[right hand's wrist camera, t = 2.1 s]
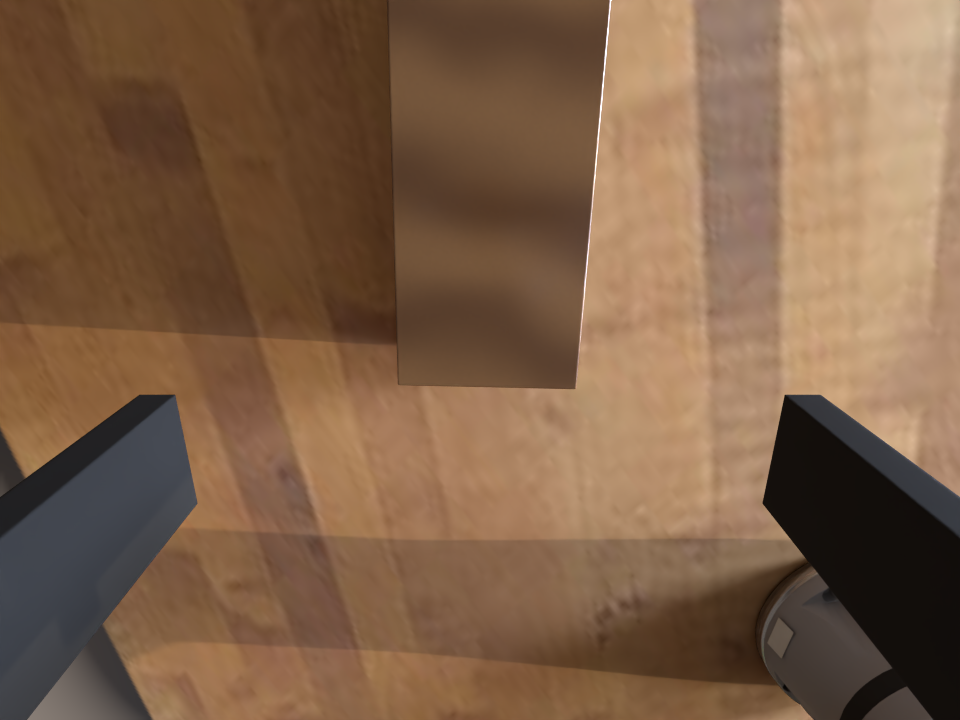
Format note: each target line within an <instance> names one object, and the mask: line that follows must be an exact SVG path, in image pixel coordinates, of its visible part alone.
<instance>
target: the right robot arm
mask: <svg viewBox="0 0 960 720" xmlns="http://www.w3.org/2000/svg"><path fill="white" fill-rule="evenodd" d="M196 505H197V499H196V494H195V489H194V484H193V479H192V474H191V470H190V465H189V460H188V455H187V450H186V445H185V440H184V435H183V431H182V426H181V421H180V416H179V411H178V406H177V401H176V397H175V395H139V396H137V397H136V398H135V399H133V400H132V401H131V402H129V403H128V404H126V405H125V406H124V407H122V408H121V409H120V410H118V411H117V412H116V413H114V414H113V415H111V416H110V417H109V418H107V419H106V420H105V421H103V422H102V423H101V424H99V425H98V426H96V427H95V428H94V429H92V430H91V431H90V432H88V433H87V434H86V435H84V436H83V437H81V438H80V439H79V440H77V441H76V442H75V443H73V444H72V445H71V446H69V447H68V448H66V449H65V450H64V451H62V452H61V453H60V454H58V455H57V456H56V457H54V458H53V459H51V460H50V461H49V462H47V463H46V464H45V465H43V466H42V467H41V468H39V469H38V470H36V471H35V472H34V473H32V474H31V475H30V476H28V477H27V478H26V479H24V480H23V481H22V482H20V483H19V484H17V485H16V486H15V487H13V488H12V489H11V490H9V491H8V492H7V493H5V494H4V495H2V496H1V497H0V720H27V719H28V718H29V716H30V715H31V714H32V713H33V711H34V710H35V709H36V708H37V706H38V705H39V704H40V702H41V701H42V700H43V699H44V697H45V696H46V695H47V694H48V692H49V691H50V690H51V689H52V687H53V686H54V685H55V683H56V682H57V681H58V680H59V678H60V677H61V676H62V675H63V673H64V672H65V671H66V669H67V668H68V667H69V666H70V664H71V663H72V662H73V661H74V659H75V658H76V657H77V655H78V654H79V653H80V652H81V650H82V649H83V648H84V647H85V645H86V644H87V643H88V642H89V640H90V639H91V638H92V637H93V635H94V634H95V633H96V631H97V630H98V629H99V628H100V626H101V625H102V624H103V623H104V621H105V620H106V619H107V617H108V616H109V615H110V614H111V612H112V611H113V610H114V609H115V607H116V606H117V605H118V604H119V602H120V601H121V600H122V598H123V597H124V596H125V595H126V593H127V592H128V591H129V590H130V588H131V587H132V586H133V585H134V583H135V582H136V581H137V579H138V578H139V577H140V576H141V574H142V573H143V572H144V571H145V569H146V568H147V567H148V565H149V564H150V563H151V562H152V560H153V559H154V558H155V557H156V555H157V554H158V553H159V552H160V550H161V549H162V548H163V546H164V545H165V544H166V543H167V541H168V540H169V539H170V538H171V536H172V535H173V534H174V533H175V531H176V530H177V529H178V527H179V526H180V525H181V524H182V522H183V521H184V520H185V519H186V517H187V516H188V515H189V513H190V512H191V511H192V510H193V508H194V507H195V506H196ZM763 505H764V506H765V507H766V508H767V510H768V511H769V512H770V513H771V515H772V516H773V517H774V519H775V520H776V521H777V522H778V524H779V525H780V526H781V527H782V529H783V530H784V531H785V533H786V534H787V535H788V536H789V538H790V539H791V540H792V541H793V543H794V544H795V545H796V546H797V548H798V549H799V550H800V552H801V553H802V554H803V555H804V557H805V558H806V559H807V560H808V562H809V563H807V564H806V565H804V566H802V567H801V568H799V569H798V570H796V571H795V572H793V573H792V574H791V575H789V576H788V577H787V578H786V579H784V580H783V581H782V582H781V583H780V584H779V585H778V586H777V587H776V589H775V590H774V591H773V592H772V593H771V595H770V596H769V597H768V599H767V600H766V602H765V604H764V605H763V607H762V610H761V612H760V614H759V617H758V620H757V625H756V644H757V649H758V651H759V654H760V656H761V658H762V660H763V662H764V664H765V666H766V667H767V669H768V671H769V673H770V674H771V676H772V677H773V679H774V680H775V681H776V682H777V684H778V685H779V686H780V688H781V689H782V690H783V691H784V692H785V693H786V694H787V695H788V696H789V697H791V698H792V699H793V700H794V701H796V702H797V703H799V704H800V705H801V706H802V707H803V708H804V709H805V711H806V712H807V713H808V714H809V715H810V716H811V717H812V718H813V719H814V720H960V497H959V496H958V495H956V494H955V493H953V492H952V491H951V490H949V489H948V488H947V487H945V486H944V485H943V484H941V483H940V482H938V481H937V480H936V479H934V478H933V477H932V476H930V475H929V474H928V473H926V472H925V471H924V470H922V469H921V468H919V467H918V466H917V465H915V464H914V463H913V462H911V461H910V460H909V459H907V458H906V457H904V456H903V455H902V454H900V453H899V452H898V451H896V450H895V449H894V448H892V447H891V446H889V445H888V444H887V443H885V442H884V441H883V440H881V439H880V438H879V437H877V436H876V435H874V434H873V433H872V432H870V431H869V430H868V429H866V428H865V427H864V426H862V425H861V424H859V423H858V422H857V421H855V420H854V419H853V418H851V417H850V416H849V415H847V414H846V413H844V412H843V411H842V410H840V409H839V408H838V407H836V406H835V405H834V404H832V403H831V402H829V401H828V400H827V399H825V398H824V397H823V396H821V395H785V397H784V401H783V406H782V411H781V416H780V421H779V426H778V431H777V435H776V440H775V445H774V450H773V455H772V460H771V465H770V470H769V474H768V479H767V484H766V489H765V494H764V499H763Z"/></svg>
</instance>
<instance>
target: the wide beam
mask: <svg viewBox="0 0 960 720" xmlns="http://www.w3.org/2000/svg"><path fill="white" fill-rule="evenodd" d="M610 8H611V0H387V14H388V50H389V85H390V120H391V156H392V191H393V227H394V262H395V298H396V333H397V368H398V385H418V386H462V387H506V388H550V389H576V385H577V374H578V363H579V352H580V341H581V329H582V318H583V307H584V296H585V285H586V274H587V263H588V252H589V241H590V230H591V219H592V207H593V196H594V185H595V174H596V163H597V152H598V141H599V130H600V119H601V108H602V97H603V85H604V74H605V63H606V52H607V41H608V30H609V19H610Z"/></svg>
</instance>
